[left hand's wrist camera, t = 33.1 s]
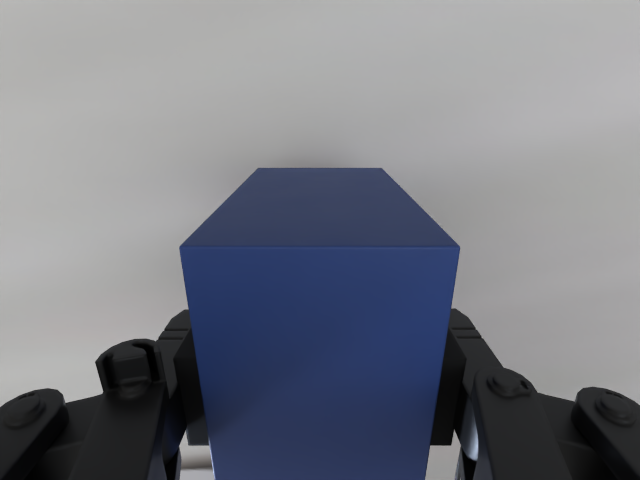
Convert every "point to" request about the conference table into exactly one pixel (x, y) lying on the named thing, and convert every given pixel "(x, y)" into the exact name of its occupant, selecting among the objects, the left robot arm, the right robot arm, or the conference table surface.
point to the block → (319, 326)
